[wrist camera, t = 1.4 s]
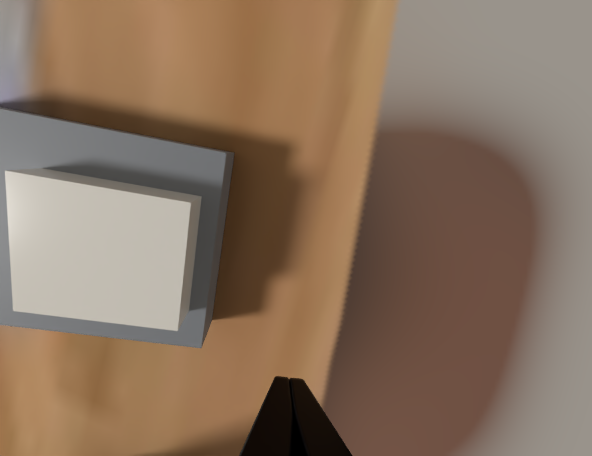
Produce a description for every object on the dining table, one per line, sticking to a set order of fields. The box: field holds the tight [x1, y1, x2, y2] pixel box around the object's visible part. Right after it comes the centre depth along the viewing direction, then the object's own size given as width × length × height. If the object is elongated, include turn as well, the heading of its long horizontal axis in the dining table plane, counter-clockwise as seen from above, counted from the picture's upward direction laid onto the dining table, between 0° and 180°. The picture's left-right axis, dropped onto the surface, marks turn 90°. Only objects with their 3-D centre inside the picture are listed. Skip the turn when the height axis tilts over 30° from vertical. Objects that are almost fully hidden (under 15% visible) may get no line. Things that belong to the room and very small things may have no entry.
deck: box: [0, 107, 234, 348], centre depth 17 cm, size 12×14×3 cm
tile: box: [5, 168, 202, 331], centre depth 15 cm, size 7×8×2 cm
